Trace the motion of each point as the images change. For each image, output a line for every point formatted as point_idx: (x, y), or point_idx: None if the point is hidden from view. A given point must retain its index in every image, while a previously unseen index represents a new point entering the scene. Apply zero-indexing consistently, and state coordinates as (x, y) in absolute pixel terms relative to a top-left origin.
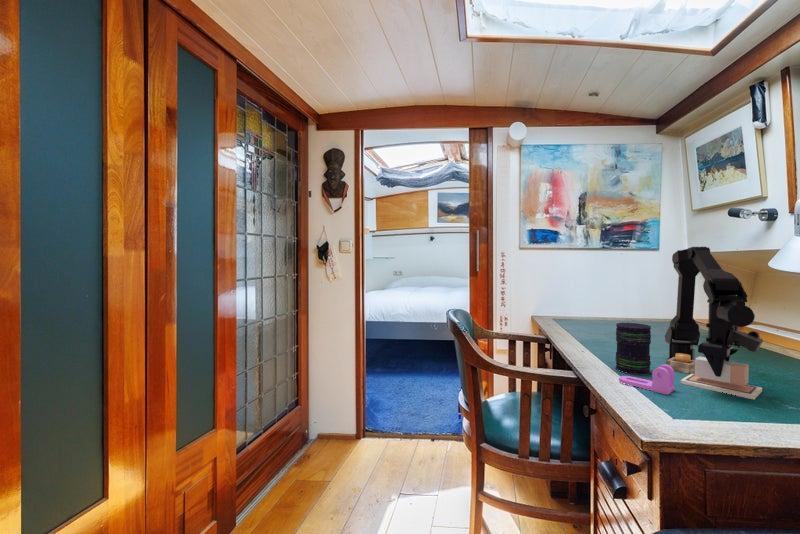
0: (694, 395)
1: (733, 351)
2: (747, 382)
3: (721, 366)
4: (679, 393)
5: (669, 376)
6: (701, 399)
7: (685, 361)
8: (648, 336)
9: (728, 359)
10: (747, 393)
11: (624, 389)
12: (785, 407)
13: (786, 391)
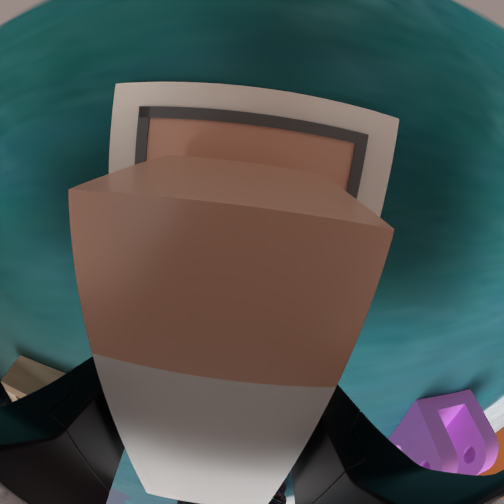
0: (454, 346)
1: (4, 471)
2: (201, 158)
3: (359, 415)
4: (448, 379)
5: (486, 437)
6: (489, 319)
7: None
8: None
9: (88, 410)
10: (368, 152)
11: None
12: (409, 3)
13: (48, 18)
